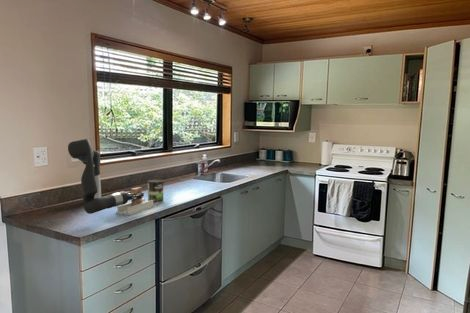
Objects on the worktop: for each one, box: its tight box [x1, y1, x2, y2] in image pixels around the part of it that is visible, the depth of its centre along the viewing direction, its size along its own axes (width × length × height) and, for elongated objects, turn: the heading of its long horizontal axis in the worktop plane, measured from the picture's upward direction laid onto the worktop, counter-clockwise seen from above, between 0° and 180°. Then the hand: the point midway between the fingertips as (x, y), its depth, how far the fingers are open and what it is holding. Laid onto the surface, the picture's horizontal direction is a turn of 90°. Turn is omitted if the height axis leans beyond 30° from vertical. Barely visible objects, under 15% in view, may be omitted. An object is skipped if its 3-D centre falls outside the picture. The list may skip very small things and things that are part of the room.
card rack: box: [115, 197, 156, 216], centre depth 208 cm, size 22×10×4 cm, turn 153°
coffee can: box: [147, 178, 164, 205], centre depth 226 cm, size 10×10×14 cm
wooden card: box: [130, 186, 143, 206], centre depth 208 cm, size 6×3×12 cm, turn 152°
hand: (137, 193), depth 208 cm, fingers open, 8 cm apart
